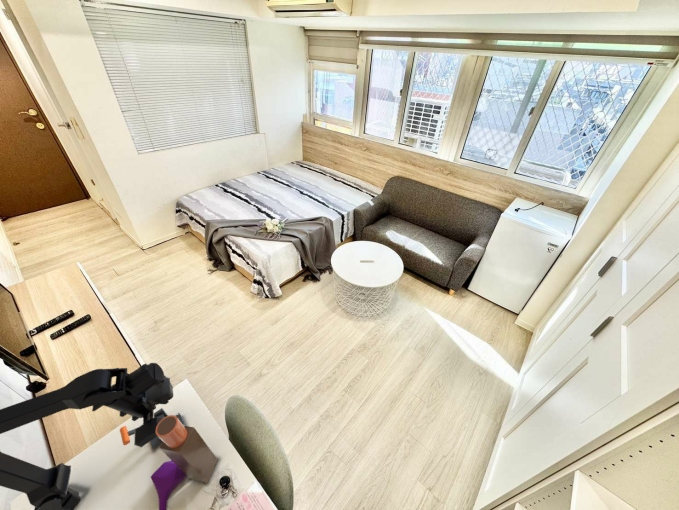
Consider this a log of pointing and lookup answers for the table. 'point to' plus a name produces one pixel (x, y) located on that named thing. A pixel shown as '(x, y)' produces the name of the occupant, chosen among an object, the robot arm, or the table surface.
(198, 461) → the cup stand
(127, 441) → the switch lever
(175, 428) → the tea cup
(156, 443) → the switch base
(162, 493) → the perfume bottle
